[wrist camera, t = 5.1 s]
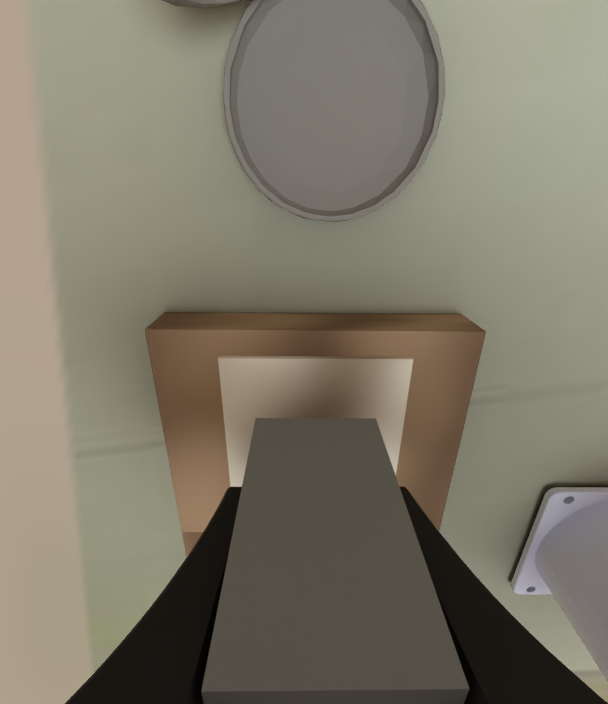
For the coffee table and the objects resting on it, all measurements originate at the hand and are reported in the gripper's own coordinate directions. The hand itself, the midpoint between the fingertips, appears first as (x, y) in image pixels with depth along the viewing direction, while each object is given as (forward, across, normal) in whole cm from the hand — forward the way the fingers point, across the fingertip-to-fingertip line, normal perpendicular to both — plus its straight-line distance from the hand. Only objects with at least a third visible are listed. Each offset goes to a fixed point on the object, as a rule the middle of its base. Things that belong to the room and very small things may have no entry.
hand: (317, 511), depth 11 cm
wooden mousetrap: (+6, 0, +4) cm, 7 cm away
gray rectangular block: (+2, 0, 0) cm, 2 cm away
